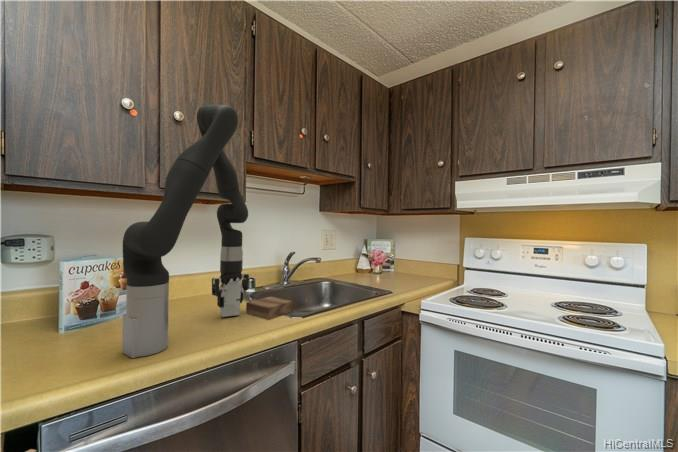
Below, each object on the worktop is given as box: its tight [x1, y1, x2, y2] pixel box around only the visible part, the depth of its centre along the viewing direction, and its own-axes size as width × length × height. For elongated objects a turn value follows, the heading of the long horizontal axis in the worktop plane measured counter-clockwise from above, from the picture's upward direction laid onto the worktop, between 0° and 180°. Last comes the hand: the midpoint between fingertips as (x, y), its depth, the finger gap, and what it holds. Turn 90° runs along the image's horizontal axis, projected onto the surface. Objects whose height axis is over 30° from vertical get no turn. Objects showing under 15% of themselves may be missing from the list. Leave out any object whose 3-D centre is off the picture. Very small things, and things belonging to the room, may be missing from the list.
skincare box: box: [219, 280, 242, 318], centre depth 104 cm, size 6×4×12 cm
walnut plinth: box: [245, 295, 294, 320], centre depth 109 cm, size 12×12×4 cm
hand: (230, 304), depth 104 cm, fingers closed on skincare box, 7 cm apart
